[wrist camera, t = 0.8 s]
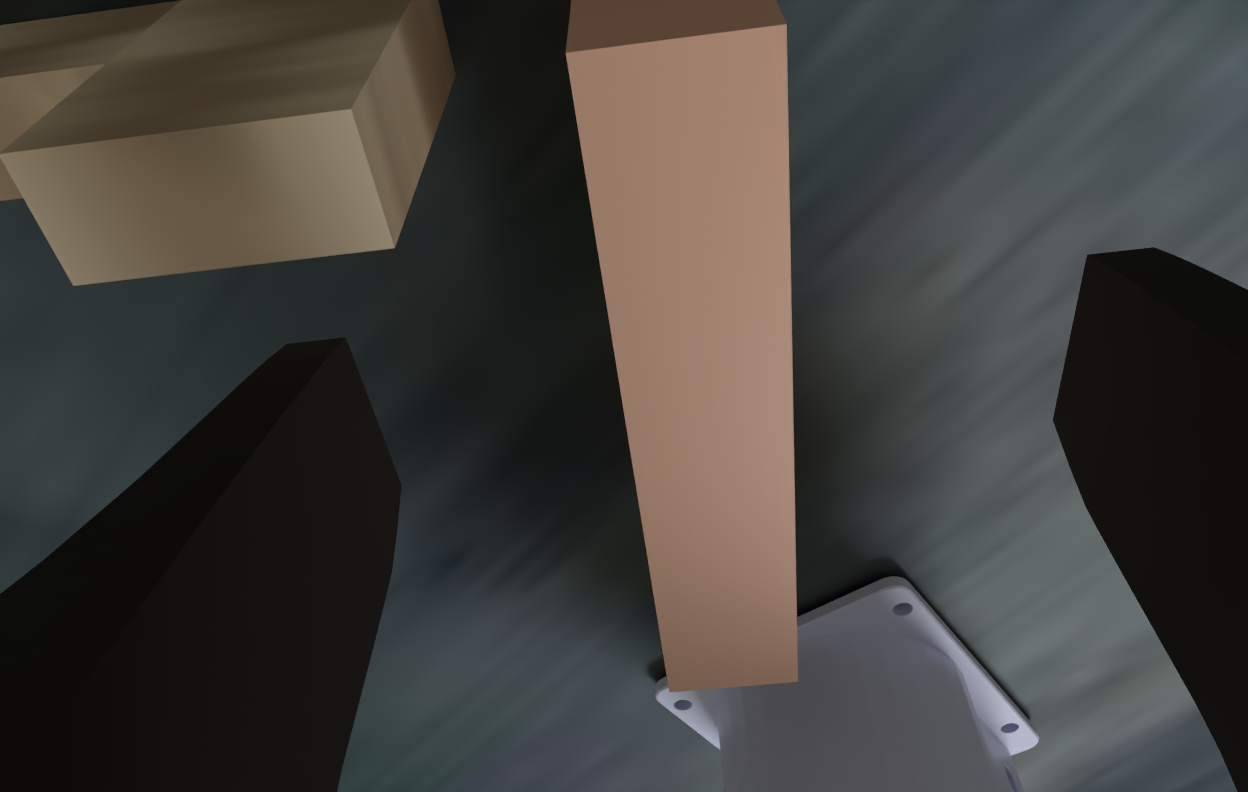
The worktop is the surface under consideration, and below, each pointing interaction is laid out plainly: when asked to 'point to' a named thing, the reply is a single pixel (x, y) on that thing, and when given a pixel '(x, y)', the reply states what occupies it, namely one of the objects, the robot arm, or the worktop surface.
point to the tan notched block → (220, 130)
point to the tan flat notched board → (699, 313)
